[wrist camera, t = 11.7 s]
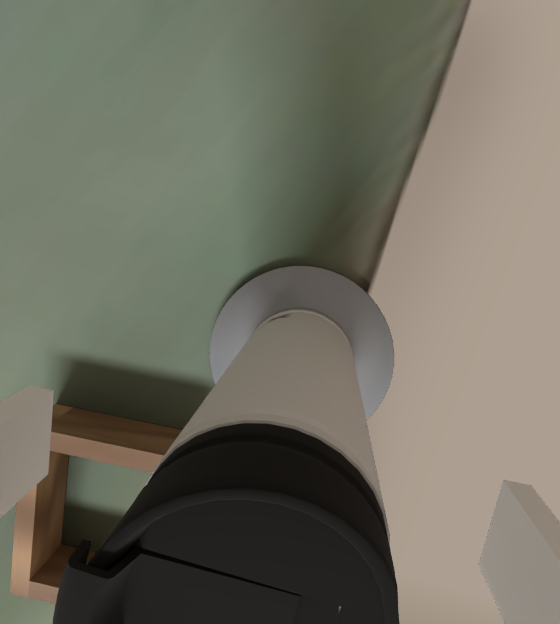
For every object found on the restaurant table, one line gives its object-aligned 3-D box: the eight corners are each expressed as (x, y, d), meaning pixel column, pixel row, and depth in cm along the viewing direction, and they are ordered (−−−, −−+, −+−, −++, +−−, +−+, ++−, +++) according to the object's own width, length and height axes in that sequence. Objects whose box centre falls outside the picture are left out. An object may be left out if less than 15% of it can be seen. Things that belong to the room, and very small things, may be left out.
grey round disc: (225, 250, 28) (223, 251, 27) (410, 283, 27) (412, 284, 26) (200, 421, 30) (198, 425, 29) (372, 456, 29) (373, 461, 28)
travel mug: (257, 291, 27) (79, 446, 8) (366, 323, 27) (469, 568, 7) (231, 389, 29) (19, 737, 9) (335, 420, 28) (352, 852, 9)
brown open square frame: (56, 403, 31) (21, 425, 27) (209, 435, 30) (194, 461, 26) (43, 555, 33) (10, 593, 29) (186, 588, 32) (169, 631, 29)
